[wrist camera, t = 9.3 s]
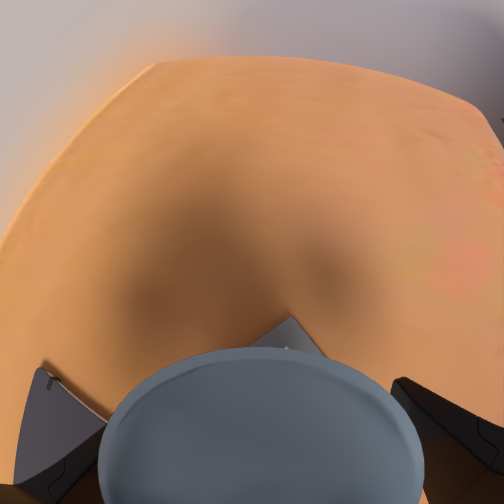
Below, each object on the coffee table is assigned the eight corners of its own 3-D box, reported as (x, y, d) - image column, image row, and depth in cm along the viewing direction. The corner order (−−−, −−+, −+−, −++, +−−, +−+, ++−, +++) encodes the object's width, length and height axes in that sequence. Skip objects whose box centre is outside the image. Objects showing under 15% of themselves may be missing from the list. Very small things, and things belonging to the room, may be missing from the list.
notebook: (106, 575, 6) (155, 446, 15) (99, 580, 4) (145, 449, 13) (21, 503, 9) (48, 366, 18) (12, 504, 7) (37, 363, 16)
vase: (286, 478, 12) (287, 618, 1) (207, 430, 14) (60, 483, 3) (341, 405, 14) (474, 428, 3) (262, 359, 16) (212, 281, 5)
